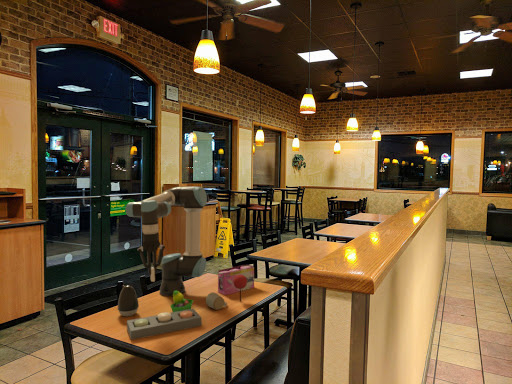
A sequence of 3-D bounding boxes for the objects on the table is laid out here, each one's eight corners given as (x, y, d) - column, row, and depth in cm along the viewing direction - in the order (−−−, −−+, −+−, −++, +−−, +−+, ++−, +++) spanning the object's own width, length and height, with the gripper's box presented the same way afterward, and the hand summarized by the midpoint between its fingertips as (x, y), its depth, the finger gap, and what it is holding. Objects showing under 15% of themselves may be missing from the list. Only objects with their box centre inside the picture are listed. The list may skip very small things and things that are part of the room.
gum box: (223, 296, 216) (222, 273, 216) (215, 292, 222) (215, 270, 222) (254, 287, 231) (254, 266, 231) (247, 284, 237) (246, 264, 237)
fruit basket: (182, 317, 184) (182, 295, 184) (167, 315, 187) (167, 293, 187) (194, 309, 195) (193, 288, 194) (179, 307, 198) (179, 287, 198)
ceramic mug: (213, 312, 191) (213, 297, 191) (205, 307, 197) (205, 293, 197) (230, 307, 198) (230, 293, 197) (221, 303, 204) (221, 289, 204)
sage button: (133, 325, 169) (133, 320, 169) (147, 323, 172) (146, 318, 171) (135, 330, 164) (135, 325, 163) (149, 328, 166) (149, 322, 166)
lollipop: (245, 304, 202) (244, 277, 201) (231, 303, 204) (231, 276, 203) (249, 299, 209) (248, 273, 208) (236, 298, 211) (235, 272, 210)
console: (127, 329, 171) (126, 320, 171) (193, 316, 185) (193, 308, 185) (131, 340, 159) (130, 331, 159) (201, 325, 174) (201, 317, 174)
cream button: (156, 319, 174) (156, 313, 173) (169, 316, 176) (169, 311, 176) (159, 323, 168) (159, 318, 168) (172, 321, 171) (172, 315, 171)
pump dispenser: (133, 309, 196) (132, 281, 195) (142, 314, 189) (141, 285, 188) (114, 314, 189) (113, 285, 188) (123, 320, 182) (122, 290, 181)
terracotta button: (178, 317, 178) (178, 312, 178) (190, 315, 181) (190, 310, 181) (181, 321, 173) (181, 316, 173) (194, 319, 176) (194, 314, 176)
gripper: (137, 235, 169) (140, 285, 171) (166, 232, 175) (168, 280, 177) (135, 232, 176) (137, 280, 178) (162, 230, 182) (164, 276, 183)
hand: (152, 280), depth 177 cm, fingers closed
